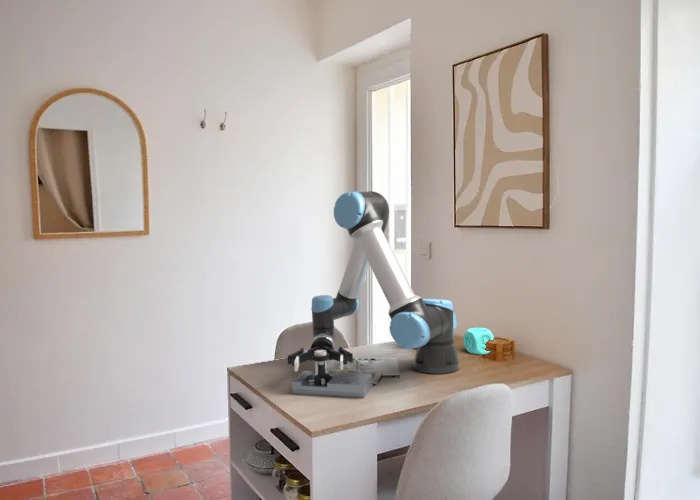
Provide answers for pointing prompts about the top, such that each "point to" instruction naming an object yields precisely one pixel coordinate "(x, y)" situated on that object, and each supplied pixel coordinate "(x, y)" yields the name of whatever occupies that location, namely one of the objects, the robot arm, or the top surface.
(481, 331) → the decorative dice
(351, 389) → the grey recessed block
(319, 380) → the push button
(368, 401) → the top surface
